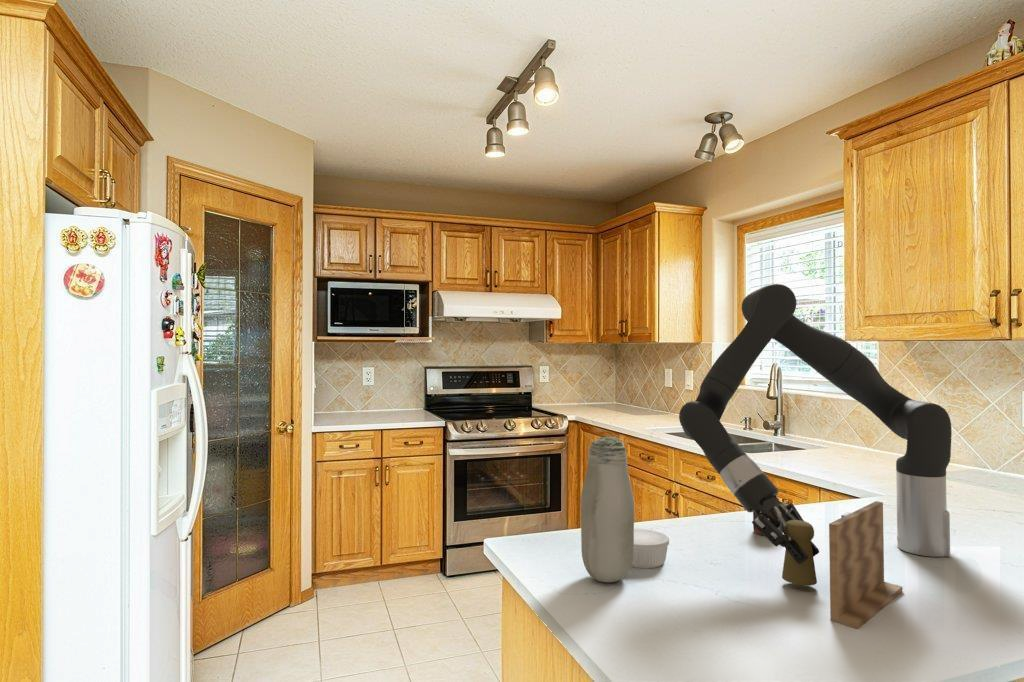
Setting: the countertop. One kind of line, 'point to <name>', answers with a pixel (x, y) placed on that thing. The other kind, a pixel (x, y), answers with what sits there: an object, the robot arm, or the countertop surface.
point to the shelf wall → (858, 567)
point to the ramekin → (649, 548)
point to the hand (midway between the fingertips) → (809, 557)
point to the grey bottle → (607, 512)
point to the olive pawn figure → (803, 537)
